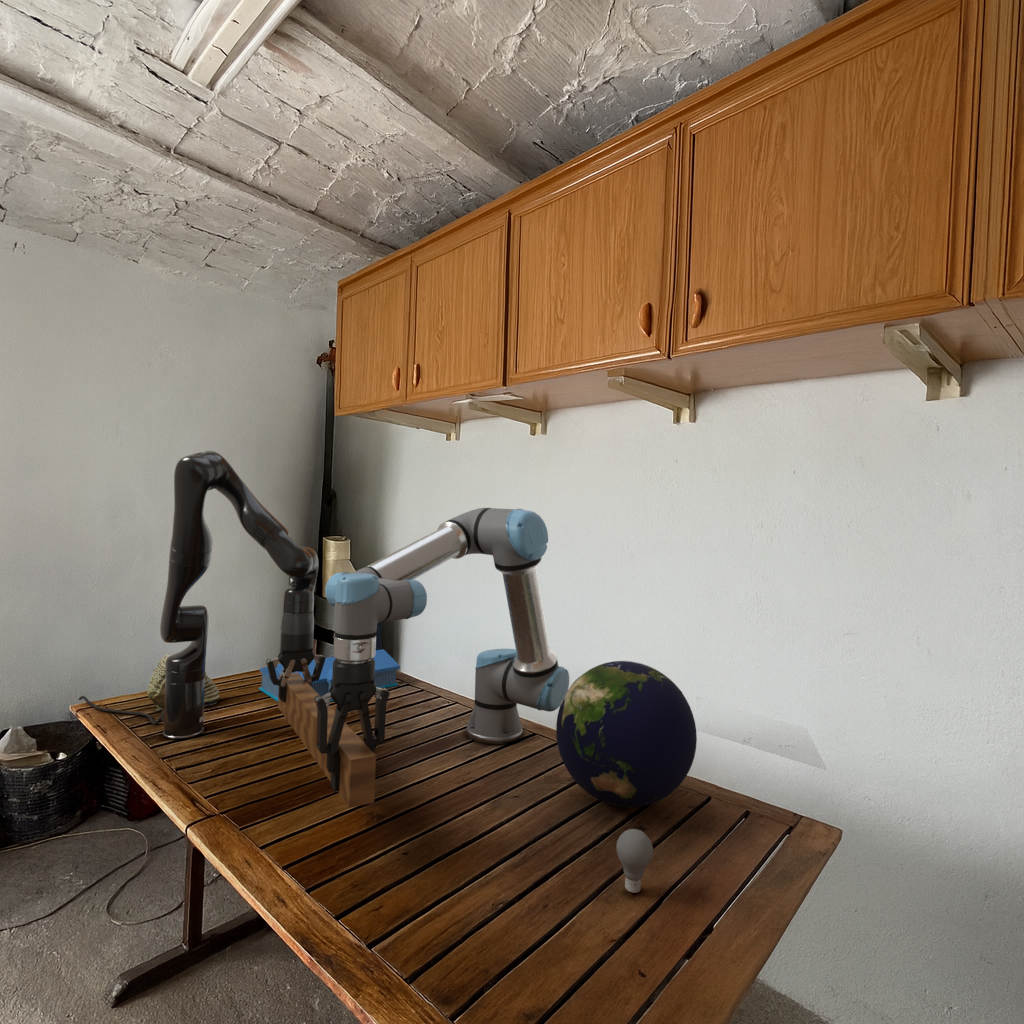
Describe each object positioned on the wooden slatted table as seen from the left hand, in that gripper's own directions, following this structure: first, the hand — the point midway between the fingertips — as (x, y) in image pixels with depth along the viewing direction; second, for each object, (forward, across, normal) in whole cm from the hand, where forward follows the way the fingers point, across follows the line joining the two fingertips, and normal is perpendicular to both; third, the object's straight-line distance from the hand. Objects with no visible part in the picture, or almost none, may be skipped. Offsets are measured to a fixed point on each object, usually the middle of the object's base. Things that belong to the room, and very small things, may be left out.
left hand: (294, 699), depth 154 cm
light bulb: (+13, +37, -80) cm, 89 cm away
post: (+4, 0, -22) cm, 22 cm away
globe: (+14, +58, -54) cm, 80 cm away
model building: (+14, +24, +49) cm, 56 cm away
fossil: (+14, -20, +49) cm, 55 cm away
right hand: (+3, 0, -44) cm, 44 cm away
